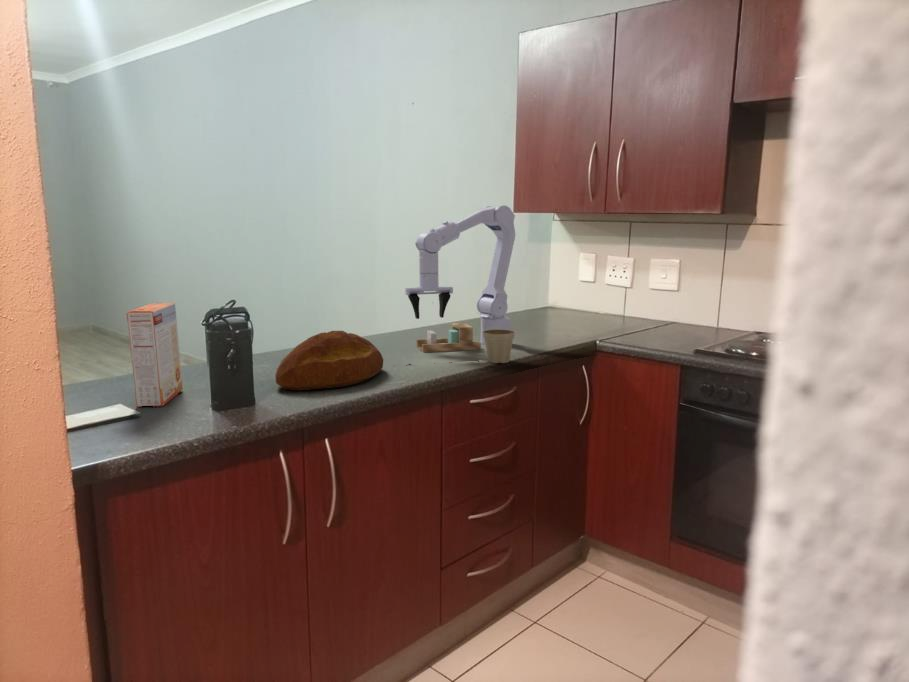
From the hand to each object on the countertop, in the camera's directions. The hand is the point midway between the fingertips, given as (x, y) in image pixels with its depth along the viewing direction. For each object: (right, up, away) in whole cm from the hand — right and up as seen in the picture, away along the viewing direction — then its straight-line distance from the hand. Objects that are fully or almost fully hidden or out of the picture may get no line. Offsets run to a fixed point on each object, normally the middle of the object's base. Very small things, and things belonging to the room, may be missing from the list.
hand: (429, 317), depth 201 cm
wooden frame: (+6, -10, +3) cm, 12 cm away
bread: (-23, -17, -35) cm, 46 cm away
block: (+8, -8, +3) cm, 12 cm away
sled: (+6, -9, +3) cm, 11 cm away
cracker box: (-58, -20, -54) cm, 82 cm away
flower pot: (+20, -13, -14) cm, 28 cm away
